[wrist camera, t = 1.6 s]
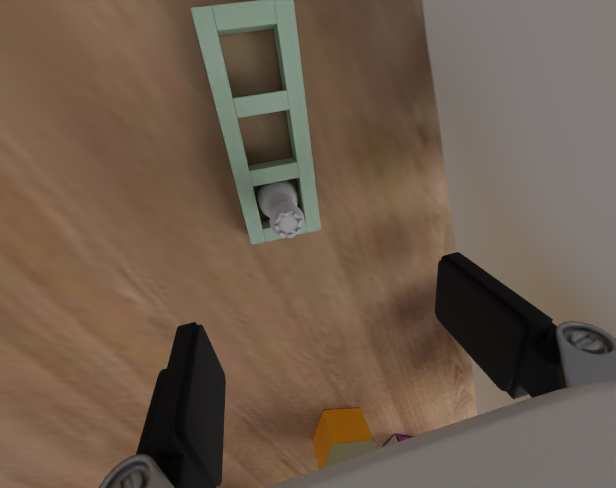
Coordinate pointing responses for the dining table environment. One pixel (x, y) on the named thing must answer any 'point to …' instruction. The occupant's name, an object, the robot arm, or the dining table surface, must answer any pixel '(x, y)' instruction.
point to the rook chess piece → (281, 208)
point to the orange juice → (341, 436)
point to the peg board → (261, 106)
